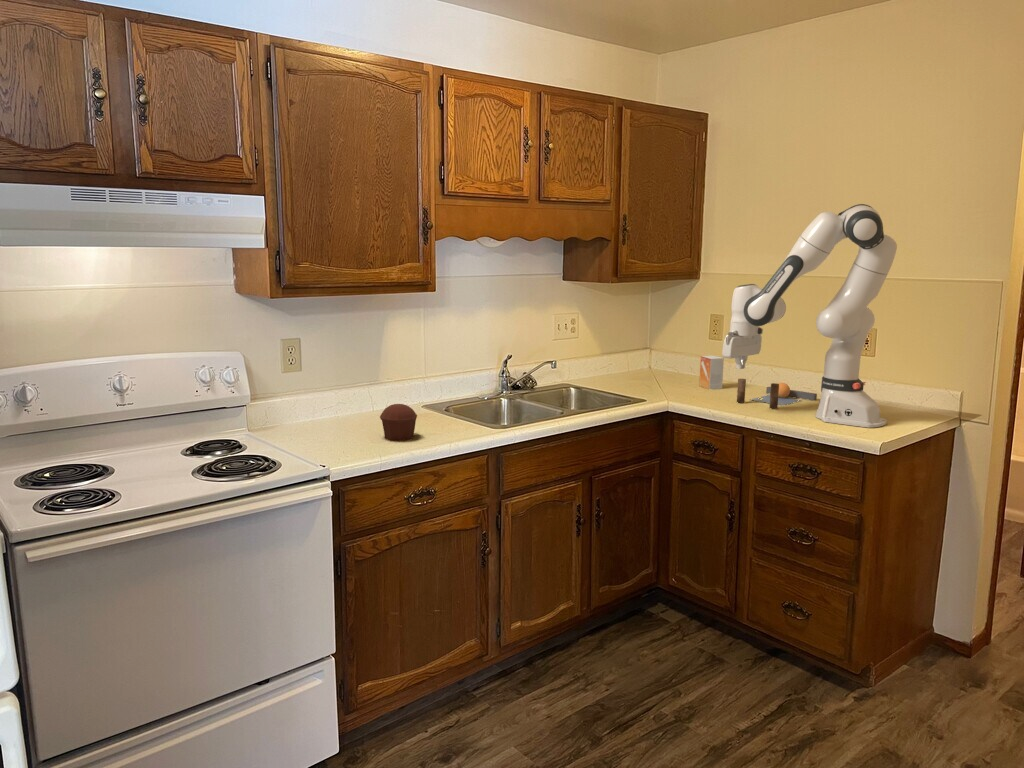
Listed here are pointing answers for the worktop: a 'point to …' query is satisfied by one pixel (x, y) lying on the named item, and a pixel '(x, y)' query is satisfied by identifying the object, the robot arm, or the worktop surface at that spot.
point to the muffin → (398, 422)
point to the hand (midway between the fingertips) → (740, 368)
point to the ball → (783, 390)
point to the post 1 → (741, 390)
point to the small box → (711, 372)
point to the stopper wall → (798, 394)
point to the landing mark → (780, 400)
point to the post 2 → (774, 395)
